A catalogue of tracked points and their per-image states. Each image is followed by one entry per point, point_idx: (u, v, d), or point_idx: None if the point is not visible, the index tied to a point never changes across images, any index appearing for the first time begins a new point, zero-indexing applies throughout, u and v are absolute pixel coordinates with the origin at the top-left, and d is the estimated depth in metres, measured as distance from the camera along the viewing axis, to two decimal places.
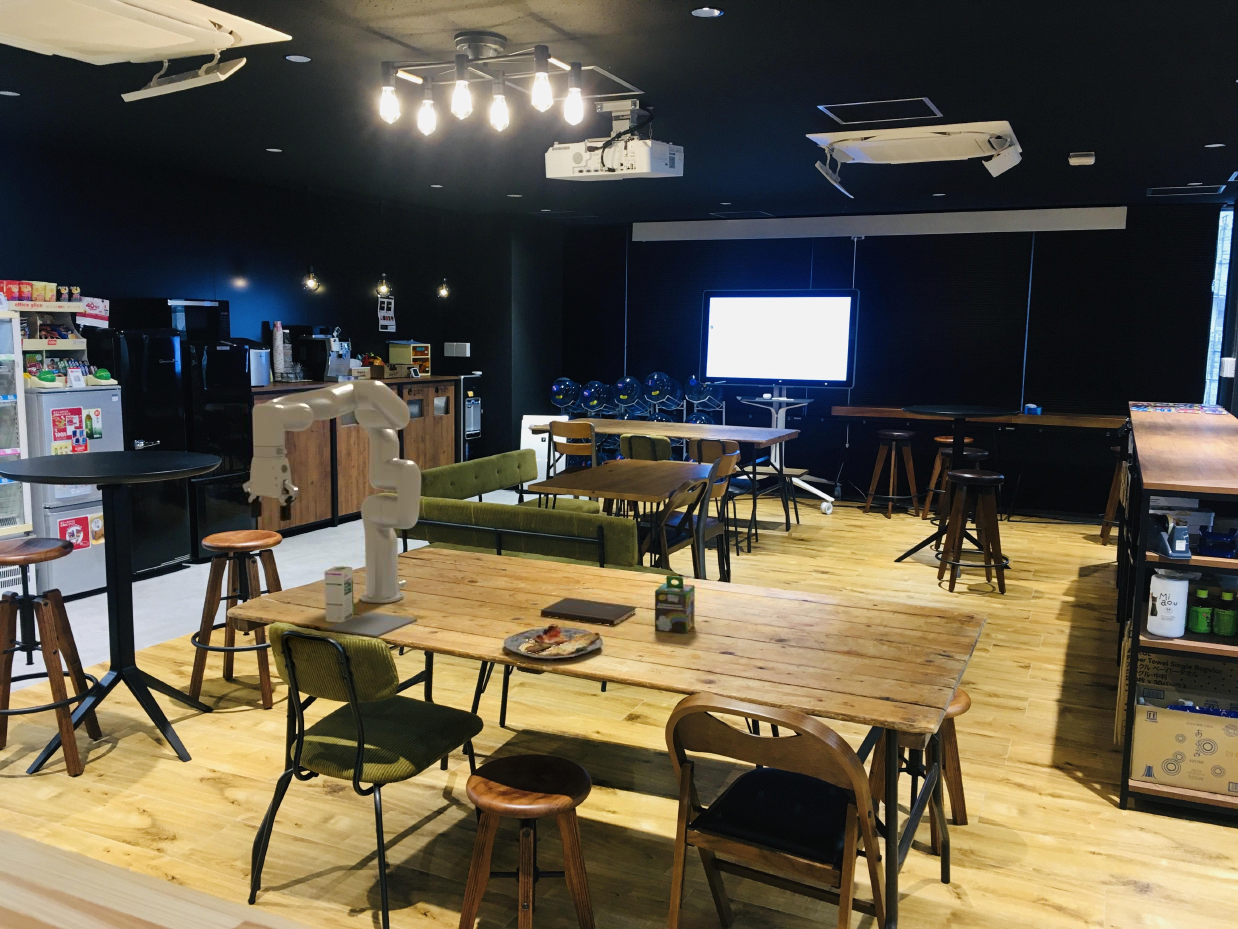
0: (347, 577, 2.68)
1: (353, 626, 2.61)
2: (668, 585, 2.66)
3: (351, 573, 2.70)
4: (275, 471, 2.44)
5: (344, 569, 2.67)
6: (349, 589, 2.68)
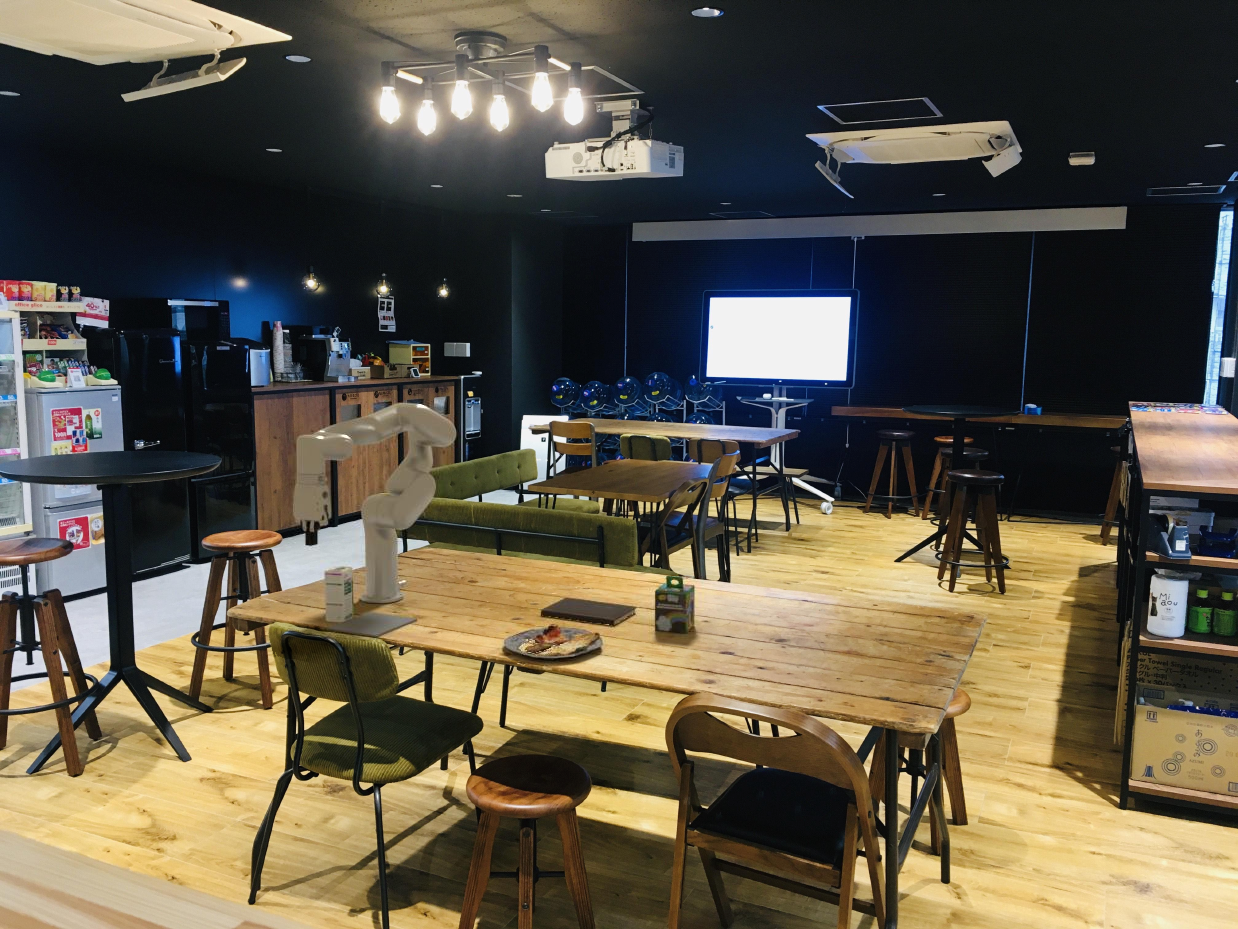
0: (347, 577, 2.68)
1: (353, 626, 2.61)
2: (668, 585, 2.66)
3: (351, 573, 2.70)
4: (317, 497, 2.66)
5: (344, 569, 2.67)
6: (349, 589, 2.68)
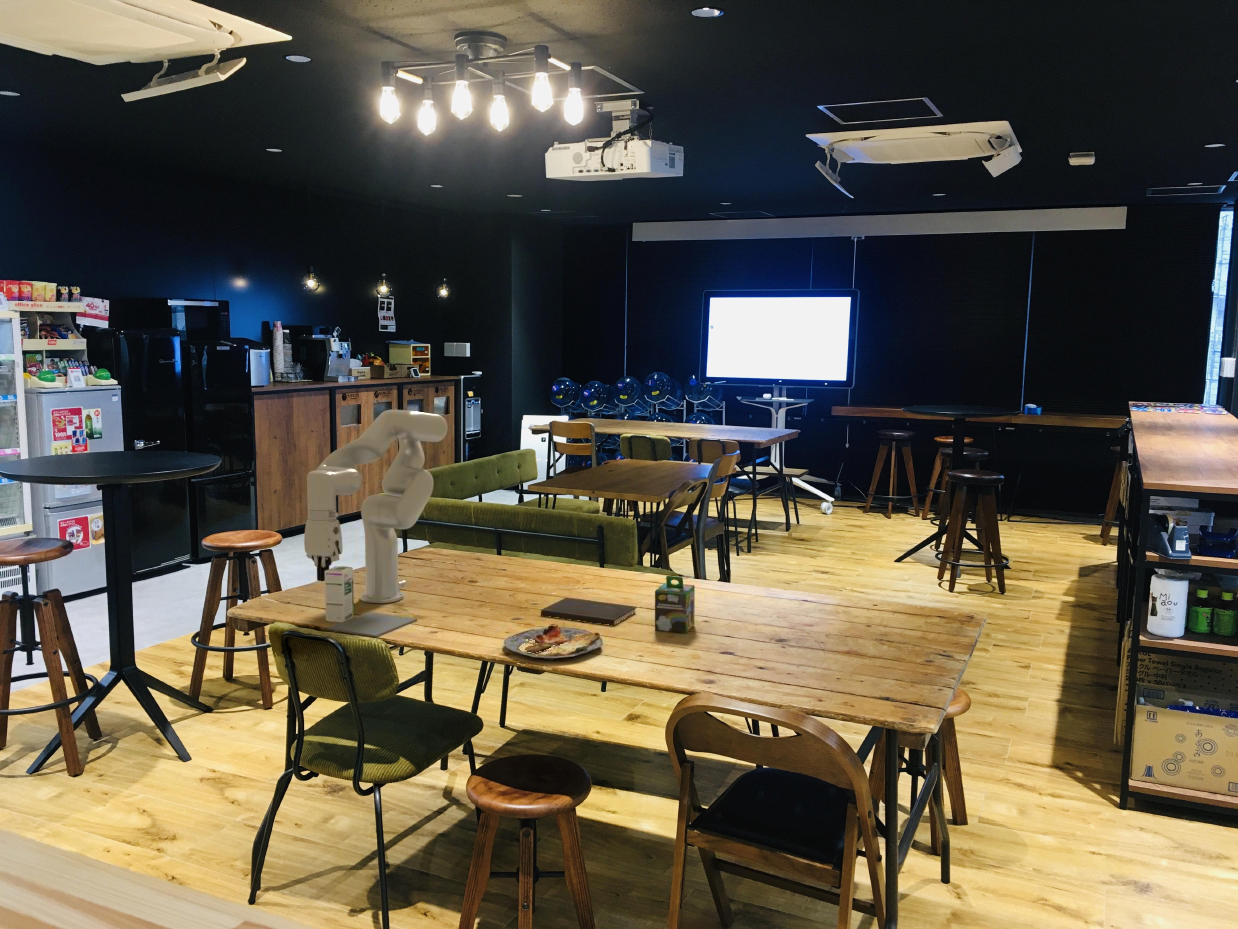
0: (348, 577, 2.68)
1: (353, 626, 2.61)
2: (668, 585, 2.66)
3: (351, 573, 2.70)
4: (328, 533, 2.66)
5: (344, 569, 2.67)
6: (349, 589, 2.68)
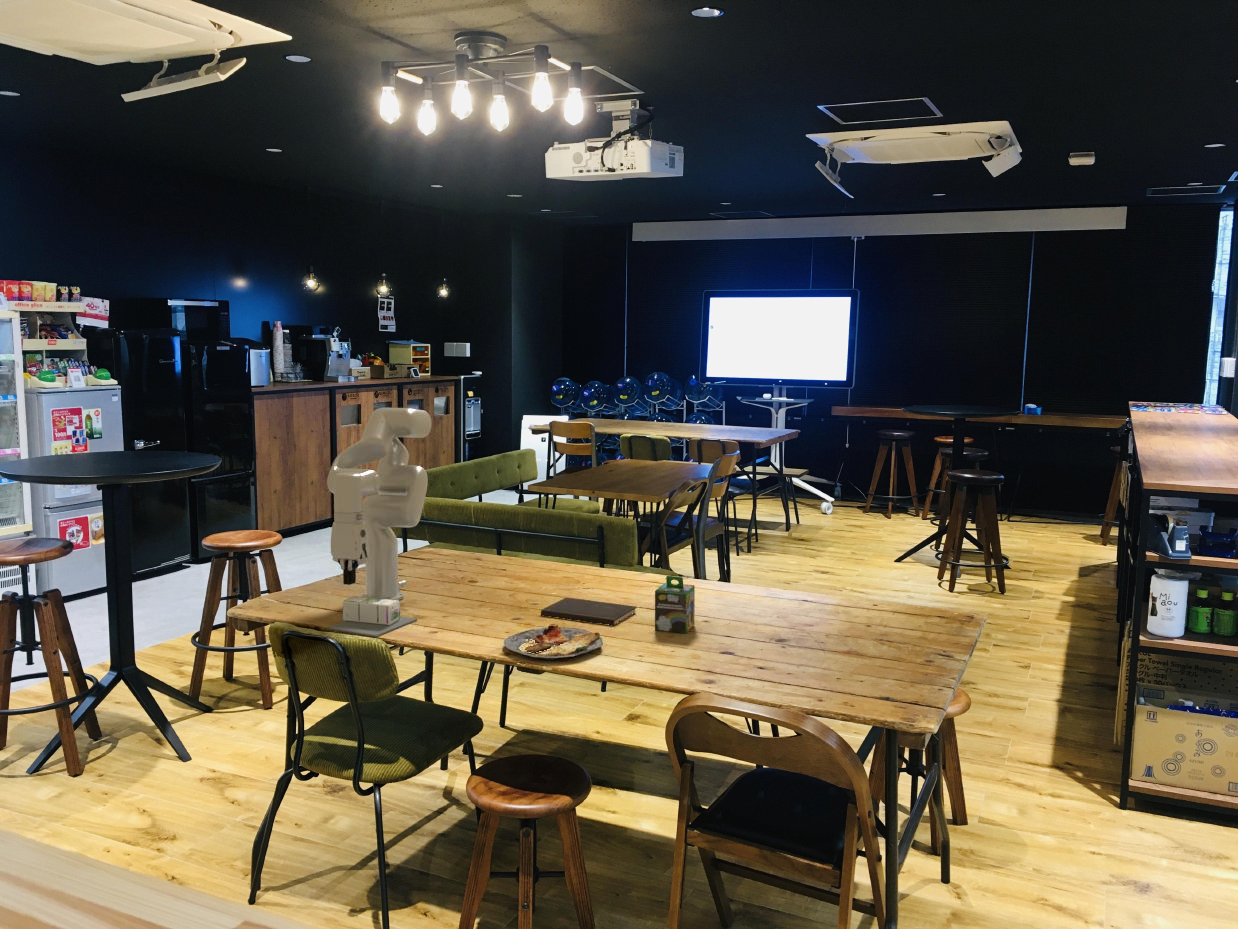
0: None
1: (353, 626, 2.61)
2: (668, 585, 2.66)
3: None
4: (355, 536, 2.62)
5: (394, 620, 2.65)
6: None
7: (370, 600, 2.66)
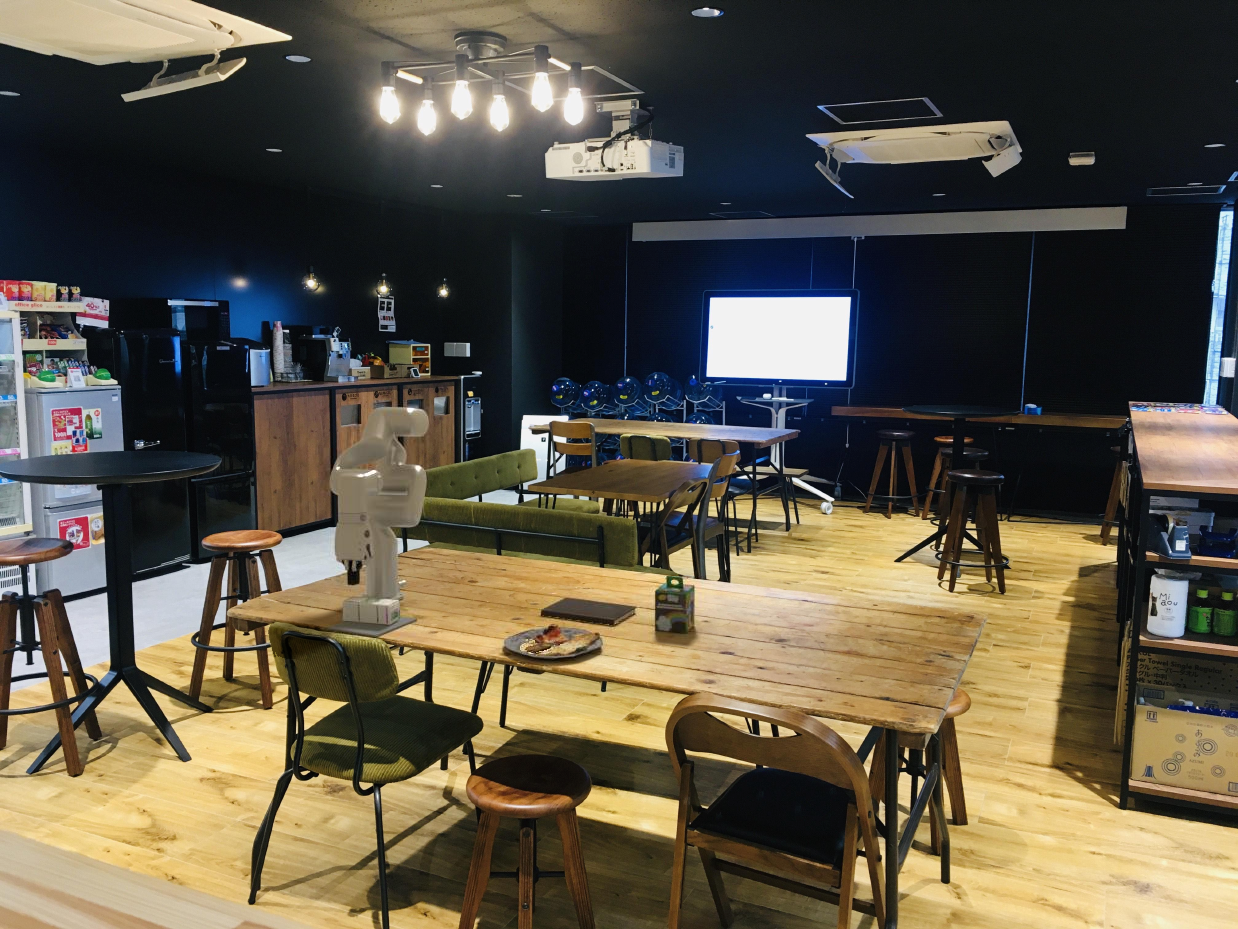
0: None
1: (353, 626, 2.61)
2: (668, 585, 2.66)
3: None
4: (359, 536, 2.61)
5: (394, 619, 2.65)
6: None
7: (370, 600, 2.66)
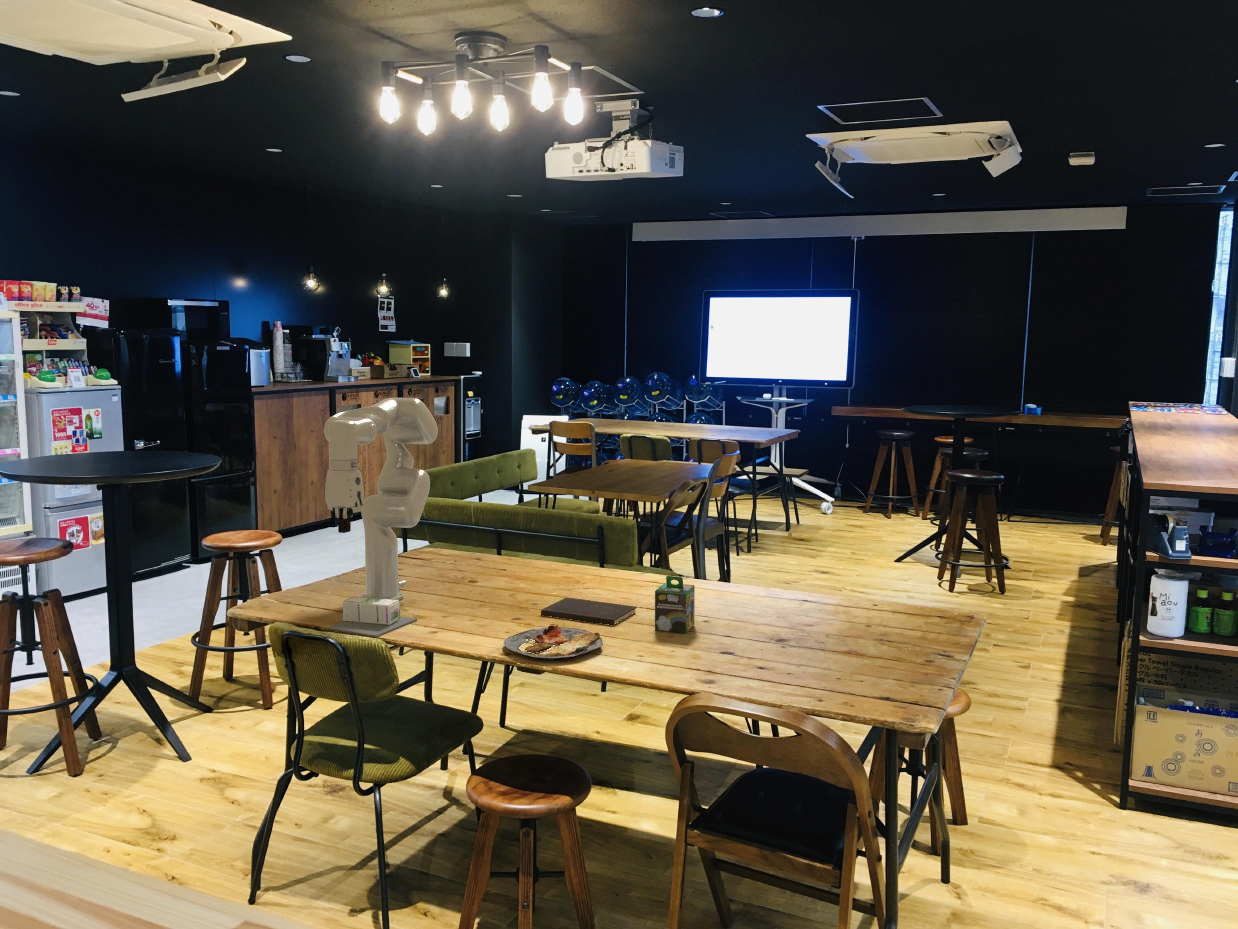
0: None
1: (353, 626, 2.61)
2: (668, 585, 2.66)
3: None
4: (350, 483, 2.61)
5: (394, 619, 2.65)
6: None
7: (370, 600, 2.66)
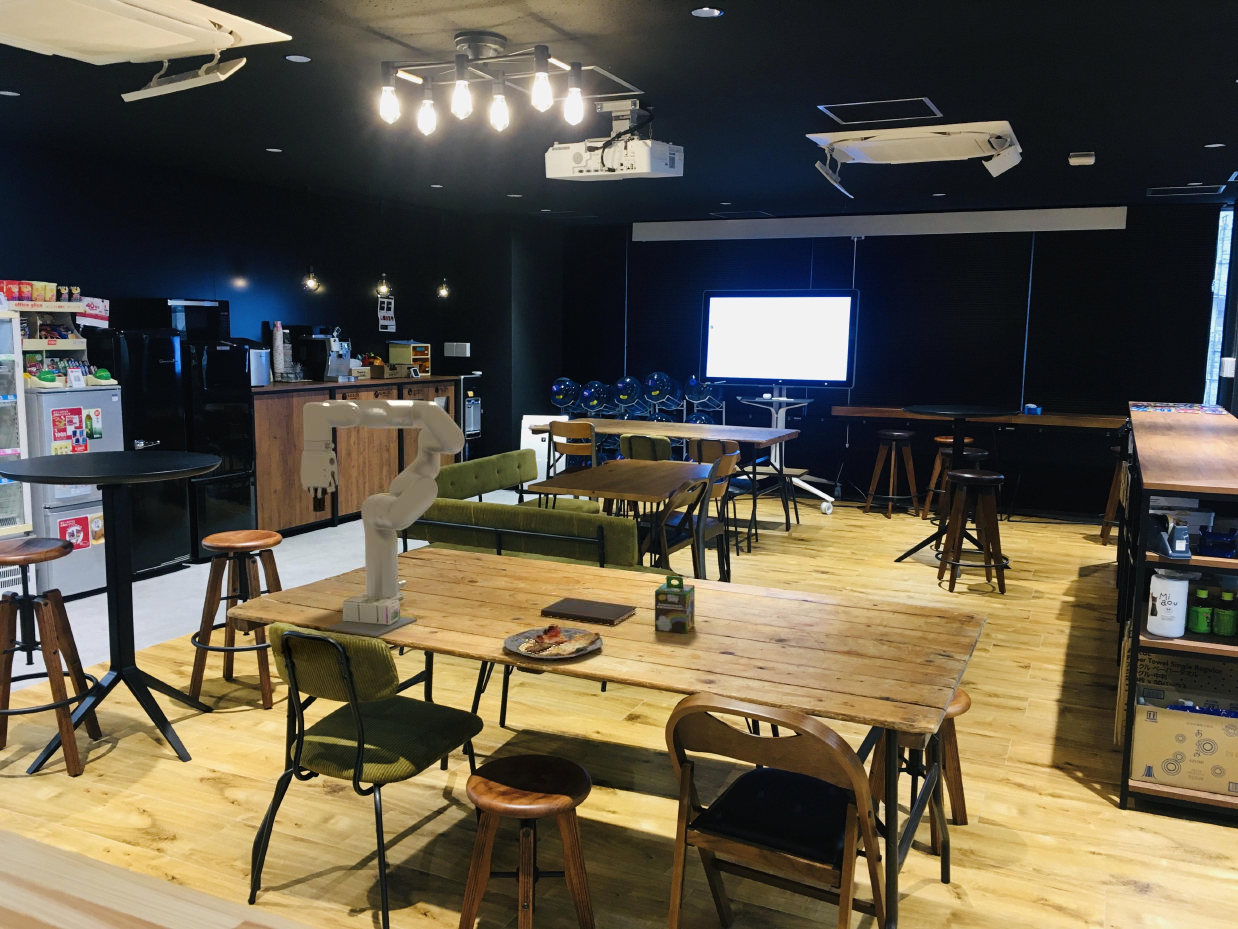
0: None
1: (353, 626, 2.61)
2: (668, 585, 2.66)
3: None
4: (324, 463, 2.69)
5: (394, 619, 2.65)
6: None
7: (370, 600, 2.66)
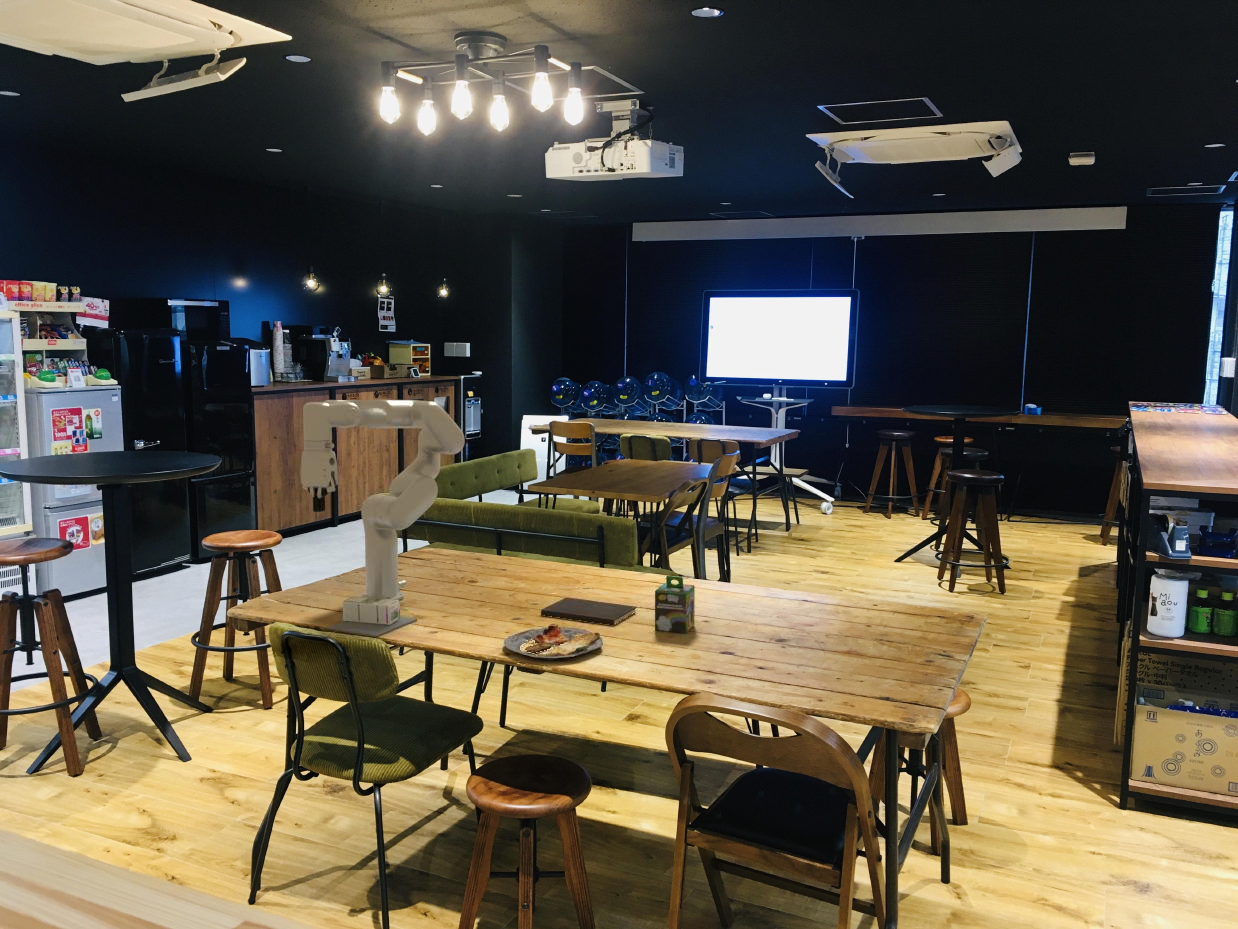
0: None
1: (353, 626, 2.61)
2: (668, 585, 2.66)
3: None
4: (324, 463, 2.69)
5: (394, 619, 2.65)
6: None
7: (370, 600, 2.66)
